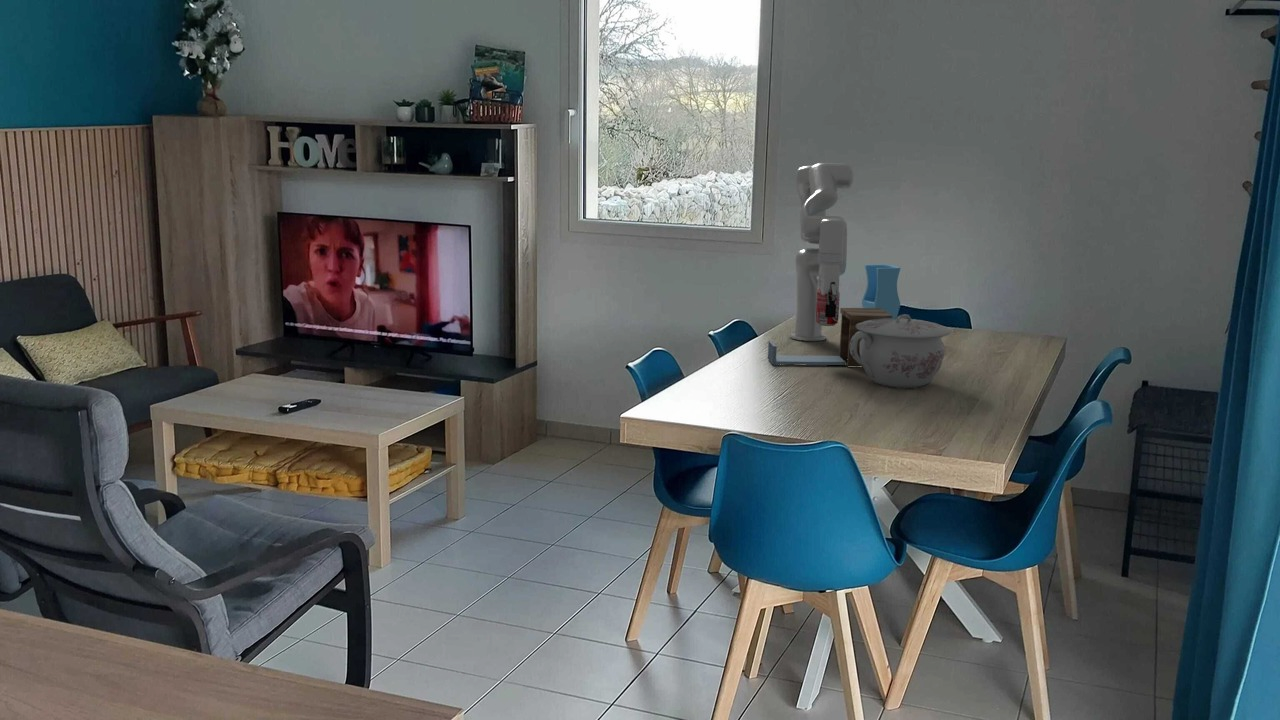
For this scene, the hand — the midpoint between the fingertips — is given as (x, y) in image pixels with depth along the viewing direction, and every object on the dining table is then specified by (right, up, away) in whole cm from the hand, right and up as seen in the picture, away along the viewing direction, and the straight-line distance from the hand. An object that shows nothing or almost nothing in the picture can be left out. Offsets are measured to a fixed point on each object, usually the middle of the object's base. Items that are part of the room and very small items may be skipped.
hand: (827, 314), depth 360 cm
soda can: (0, -3, +1) cm, 3 cm away
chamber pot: (+17, -21, -22) cm, 35 cm away
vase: (+27, -6, +51) cm, 58 cm away
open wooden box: (+12, -15, +4) cm, 20 cm away
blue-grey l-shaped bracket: (-6, -15, +3) cm, 17 cm away
